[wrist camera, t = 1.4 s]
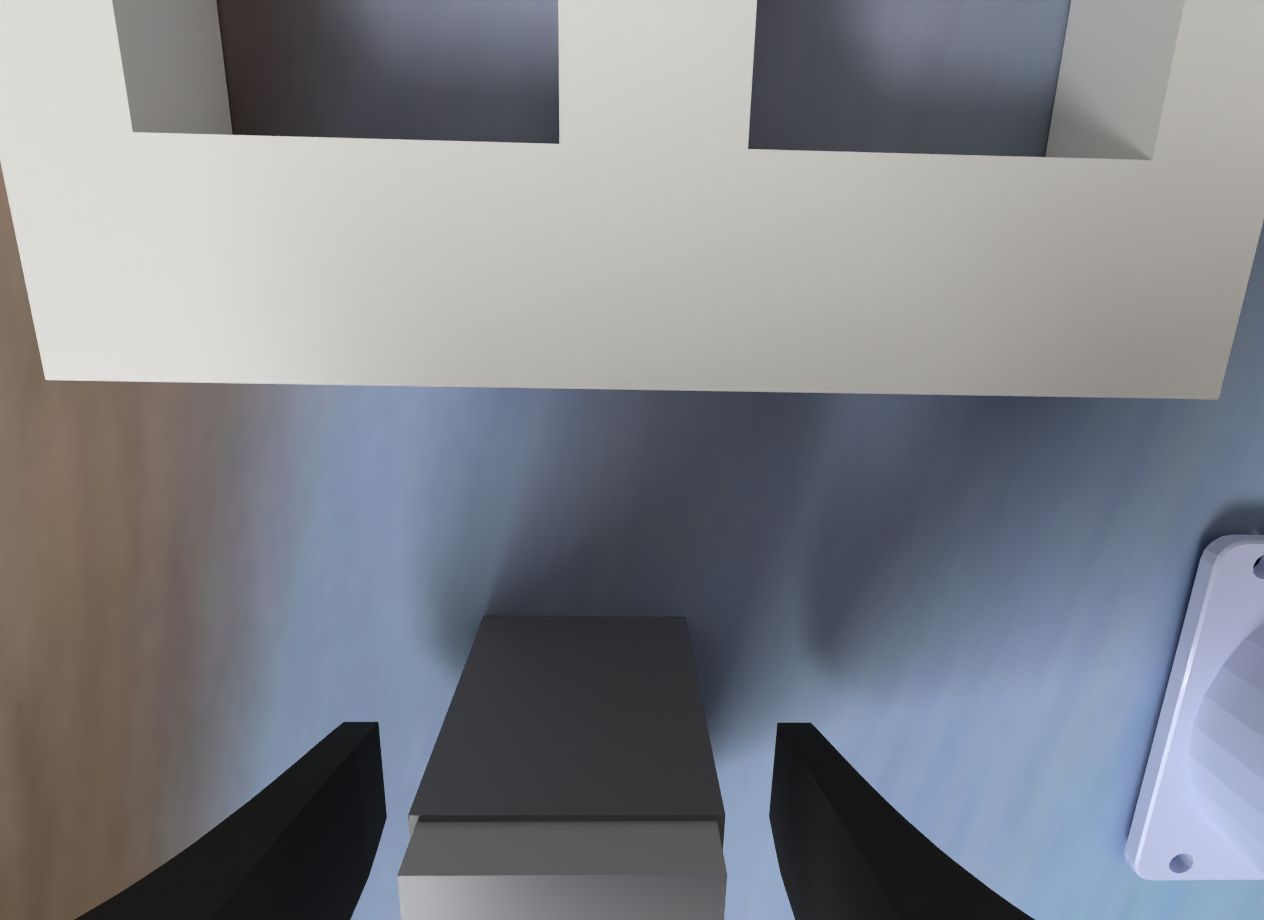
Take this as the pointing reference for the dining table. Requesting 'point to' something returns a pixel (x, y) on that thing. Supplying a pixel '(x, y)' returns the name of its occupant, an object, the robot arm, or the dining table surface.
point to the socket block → (636, 221)
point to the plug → (570, 780)
